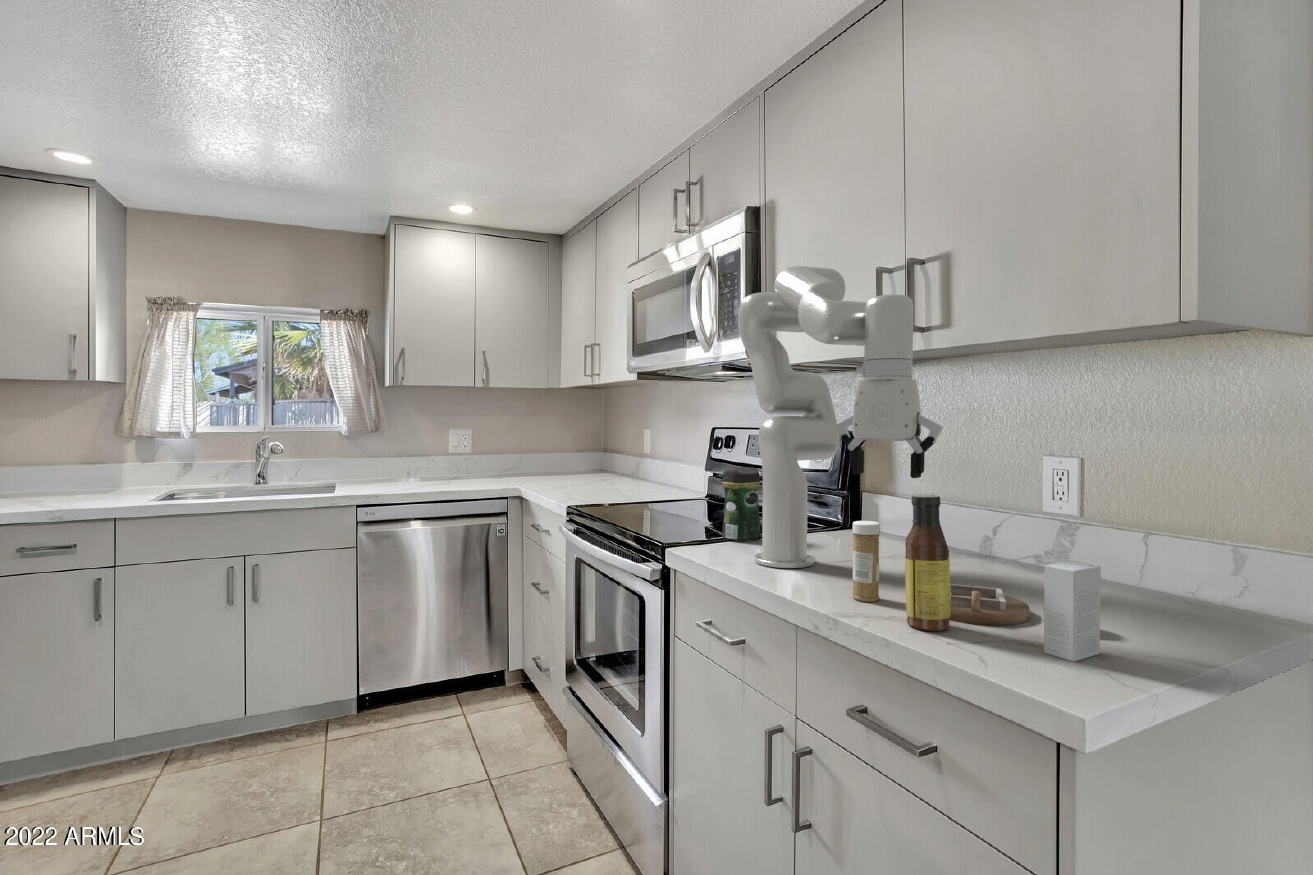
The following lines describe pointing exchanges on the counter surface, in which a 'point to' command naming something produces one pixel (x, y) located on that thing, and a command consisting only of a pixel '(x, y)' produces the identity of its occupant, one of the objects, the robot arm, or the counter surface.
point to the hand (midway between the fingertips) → (886, 475)
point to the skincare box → (1072, 610)
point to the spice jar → (866, 561)
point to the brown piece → (985, 606)
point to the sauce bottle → (927, 568)
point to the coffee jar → (741, 504)
